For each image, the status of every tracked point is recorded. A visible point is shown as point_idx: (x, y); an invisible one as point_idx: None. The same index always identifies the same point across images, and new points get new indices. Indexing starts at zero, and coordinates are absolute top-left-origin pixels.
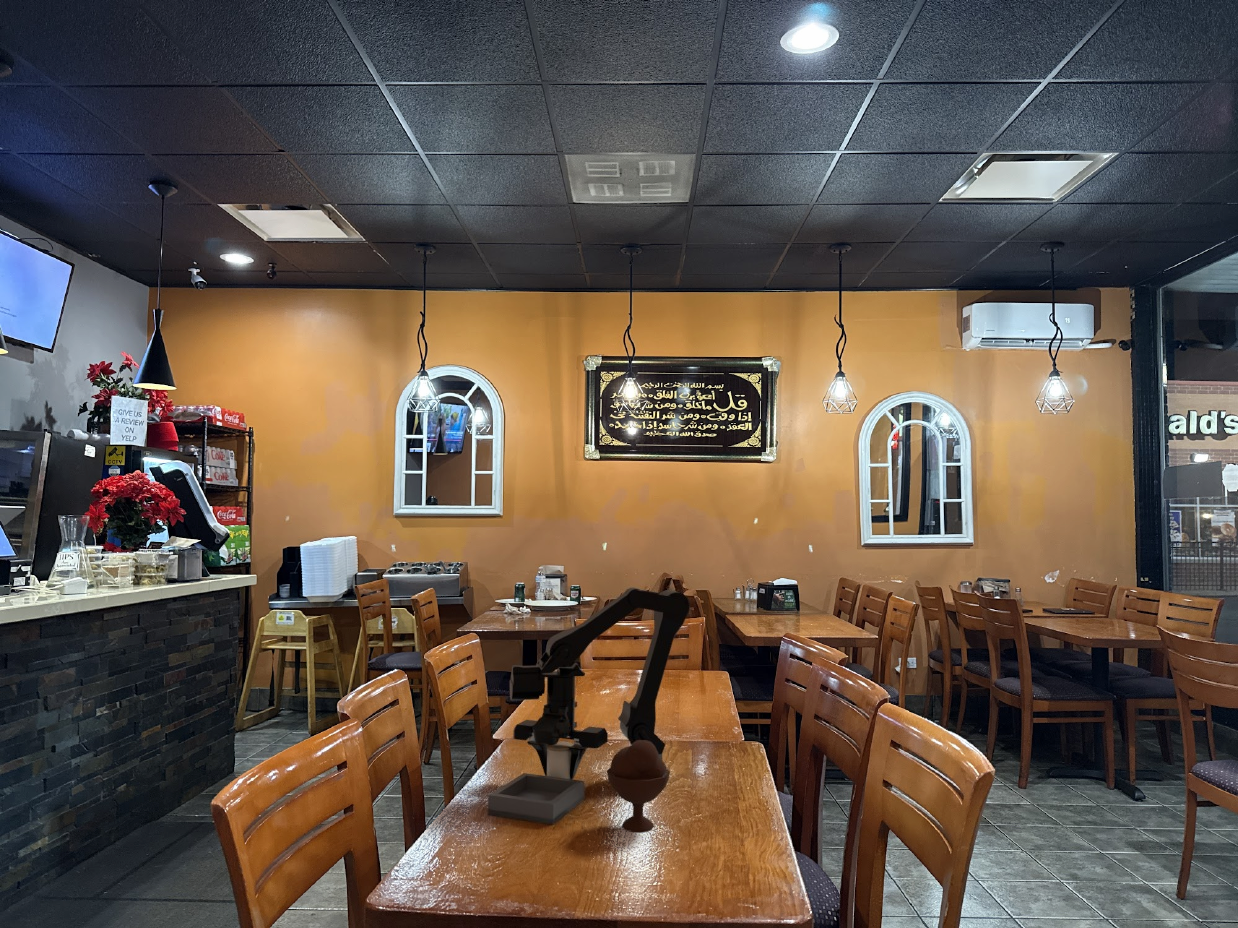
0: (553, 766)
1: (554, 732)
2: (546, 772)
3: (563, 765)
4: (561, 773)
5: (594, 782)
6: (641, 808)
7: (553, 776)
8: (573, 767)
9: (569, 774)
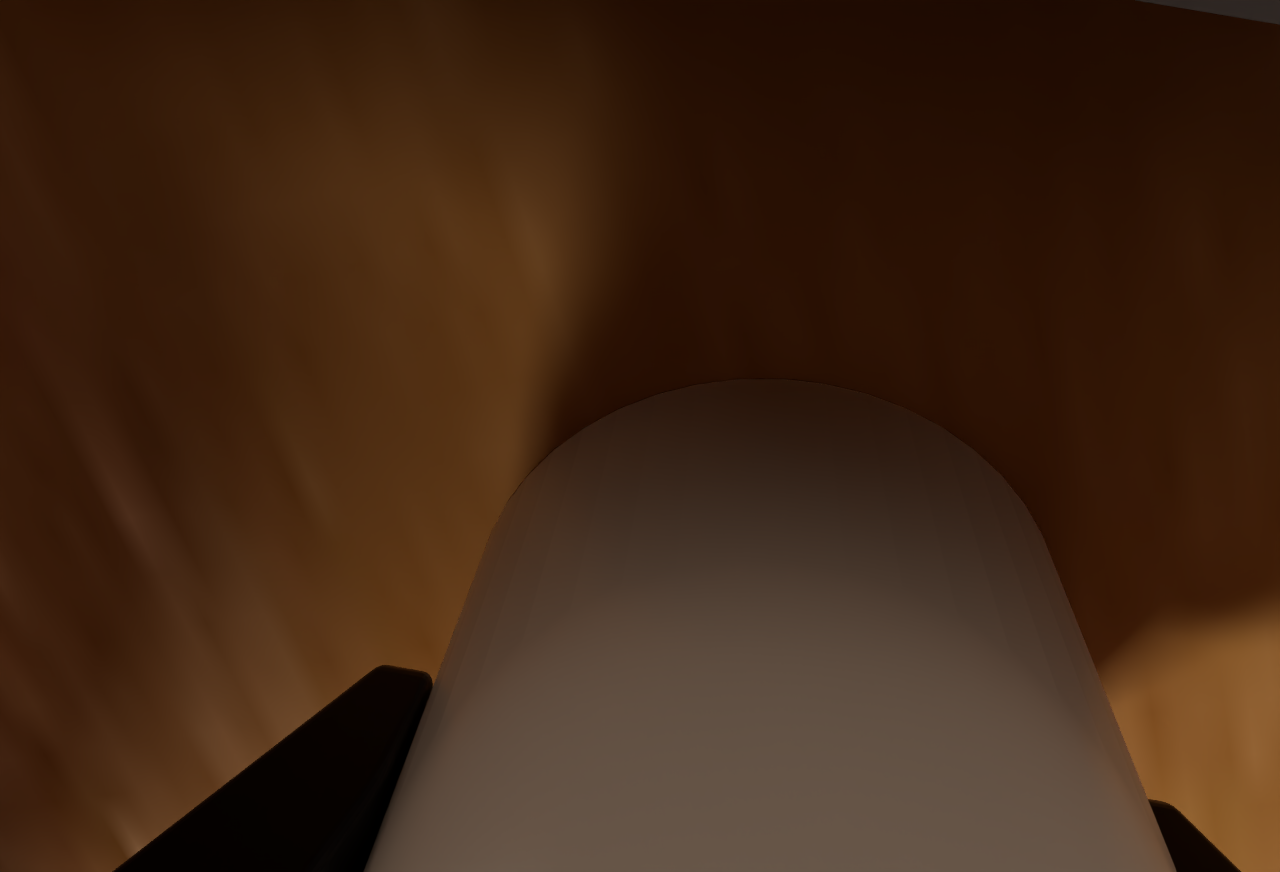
0: (913, 797)
1: None
2: None
3: (483, 857)
4: (595, 632)
5: None
6: None
7: (868, 556)
8: (172, 864)
9: (419, 737)
